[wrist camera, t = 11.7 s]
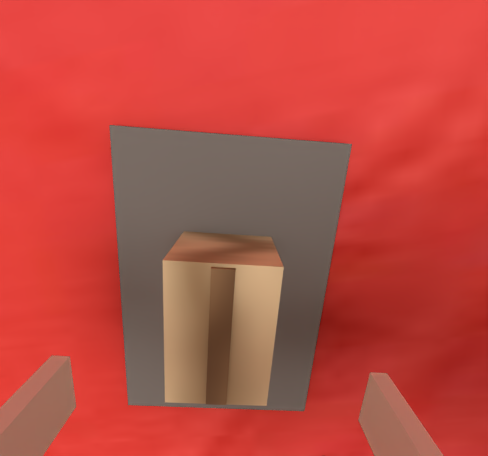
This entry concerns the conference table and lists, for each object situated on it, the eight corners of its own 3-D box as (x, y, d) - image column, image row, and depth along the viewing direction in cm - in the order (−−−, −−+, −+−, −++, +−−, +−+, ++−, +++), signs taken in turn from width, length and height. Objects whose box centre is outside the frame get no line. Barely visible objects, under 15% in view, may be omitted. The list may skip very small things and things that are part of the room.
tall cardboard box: (271, 236, 17) (284, 268, 12) (259, 345, 20) (266, 409, 15) (183, 231, 17) (161, 261, 12) (183, 342, 20) (164, 405, 14)
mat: (302, 404, 22) (304, 411, 22) (131, 398, 22) (128, 405, 21) (347, 144, 16) (351, 144, 16) (114, 126, 16) (109, 125, 15)
